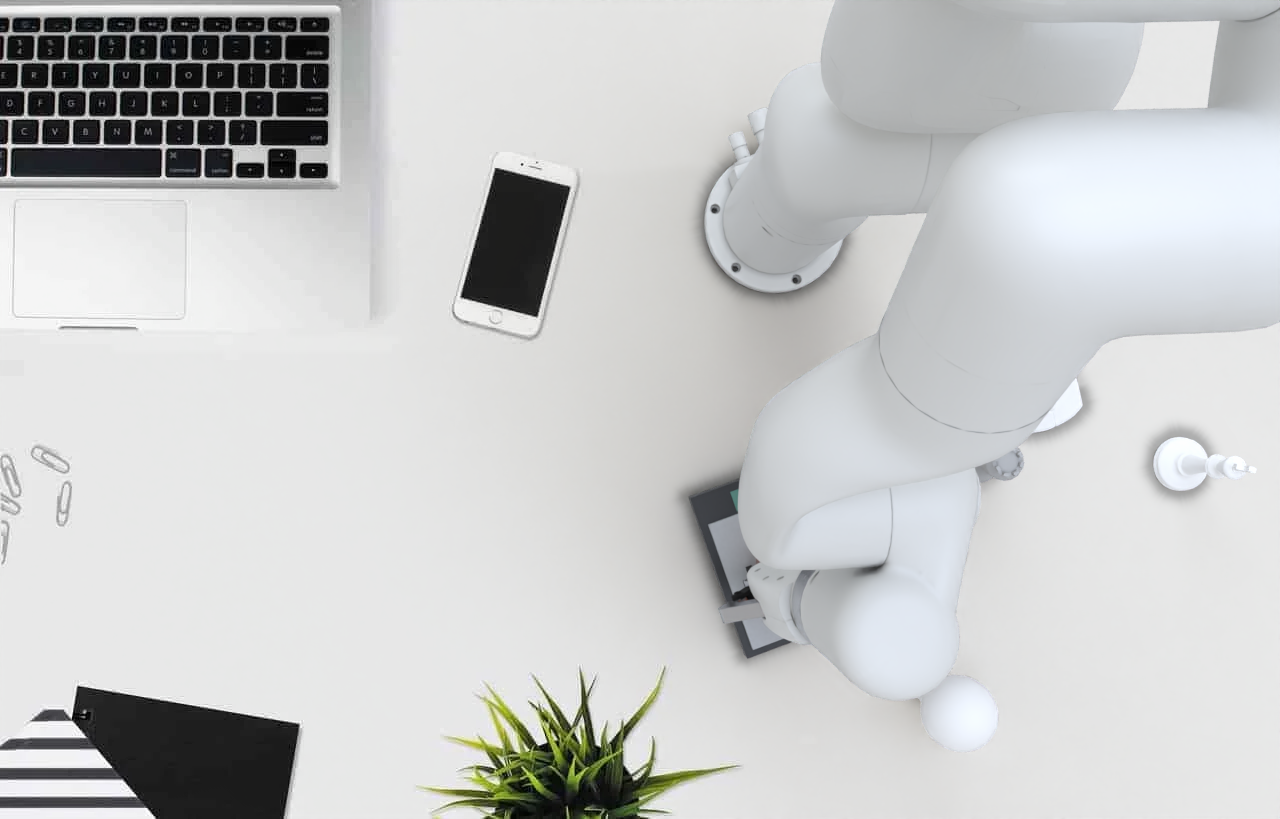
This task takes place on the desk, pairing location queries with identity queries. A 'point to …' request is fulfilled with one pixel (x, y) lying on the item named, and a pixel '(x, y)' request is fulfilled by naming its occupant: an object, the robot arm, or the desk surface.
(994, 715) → the lightbulb
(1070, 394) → the computer mouse
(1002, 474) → the rook chess piece
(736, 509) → the scale
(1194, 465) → the chess piece
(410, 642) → the desk surface
